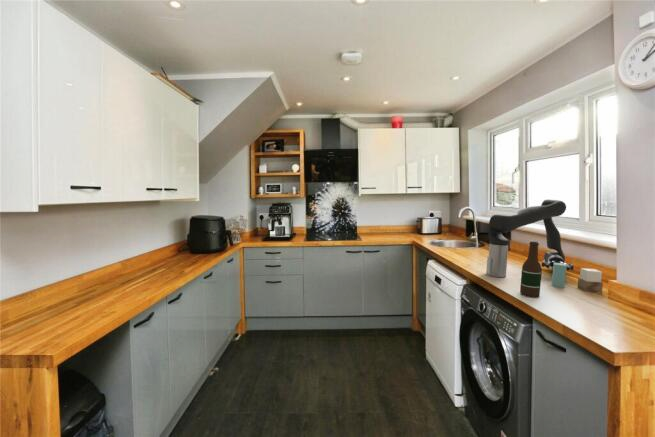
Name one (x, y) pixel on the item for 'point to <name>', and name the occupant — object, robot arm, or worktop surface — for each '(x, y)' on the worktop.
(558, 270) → the teal block
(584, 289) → the walnut block
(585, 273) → the cream block
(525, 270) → the beer bottle
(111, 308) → the worktop surface
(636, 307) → the worktop surface
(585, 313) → the worktop surface
